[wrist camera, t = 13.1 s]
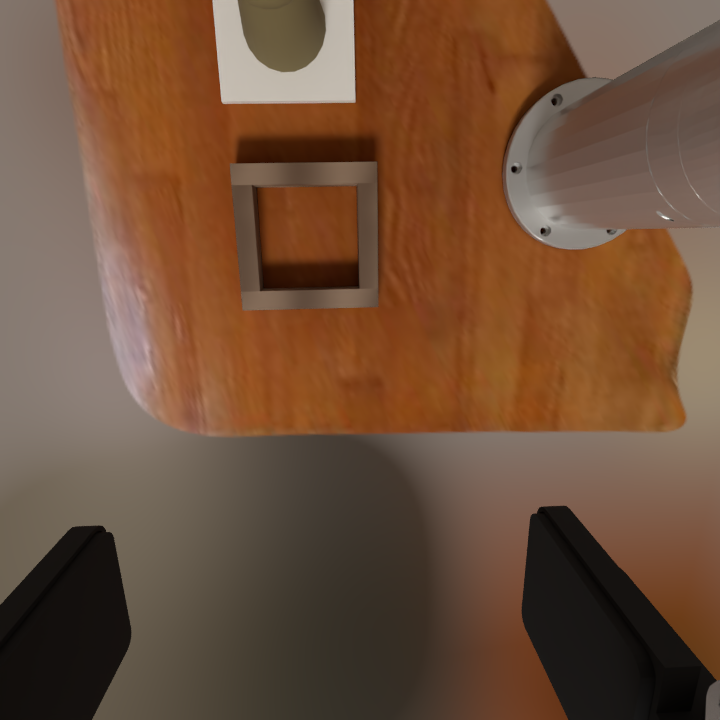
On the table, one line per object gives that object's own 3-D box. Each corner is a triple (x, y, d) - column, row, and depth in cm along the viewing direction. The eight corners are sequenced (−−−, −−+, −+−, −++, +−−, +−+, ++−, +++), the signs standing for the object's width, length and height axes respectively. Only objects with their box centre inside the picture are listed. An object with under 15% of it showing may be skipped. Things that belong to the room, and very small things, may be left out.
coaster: (351, -55, 32) (352, -60, 32) (355, 102, 35) (355, 100, 34) (209, -56, 32) (207, -61, 31) (223, 103, 34) (221, 101, 34)
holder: (375, 165, 36) (377, 161, 34) (376, 303, 39) (378, 306, 37) (235, 167, 36) (229, 163, 34) (247, 306, 39) (242, 310, 37)
